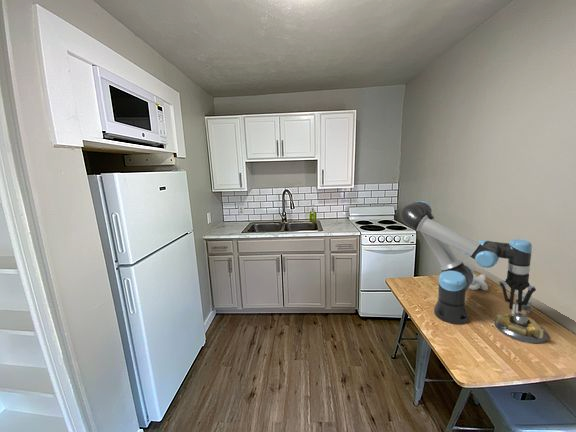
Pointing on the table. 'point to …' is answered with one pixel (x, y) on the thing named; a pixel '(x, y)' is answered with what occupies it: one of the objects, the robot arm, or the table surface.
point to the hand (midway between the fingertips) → (514, 315)
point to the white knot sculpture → (478, 282)
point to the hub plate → (518, 336)
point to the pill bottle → (525, 307)
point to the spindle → (520, 319)
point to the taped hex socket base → (529, 331)
